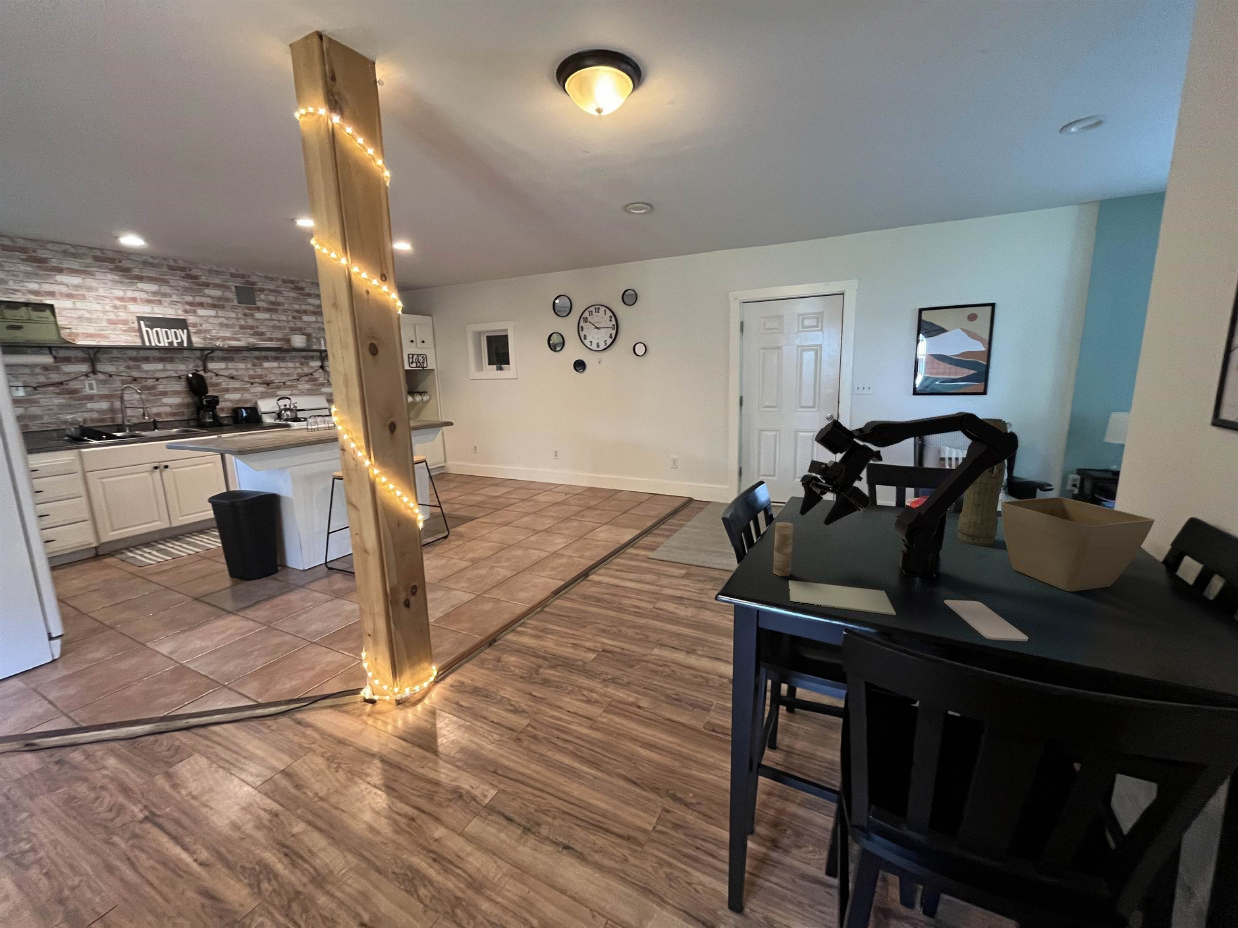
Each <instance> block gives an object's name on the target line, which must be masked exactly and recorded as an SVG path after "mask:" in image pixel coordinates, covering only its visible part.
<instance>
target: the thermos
mask: <svg viewBox="0 0 1238 928" xmlns="http://www.w3.org/2000/svg"><path fill="white" fill-rule="evenodd" d="M981 419H982V420H983V421H985V422H987V423H989V424H991V425H992V426H994V427H996V428H998V429H999V430H1001V431H1004V432H1009V430H1008V426H1007V422H1006V420H1003V418H1002V419H1001V418H993V417H992V418H987V417H986V418H983V417H982V418H981ZM1006 466H1007V464H1006V460H1005V461H1003V462H1002V463H1000V464H998V465H996V466H994V467H991V468H989V469H987V470H986V471H985V472H984V473H983V474H982V475H981V476H980V477H979V478H978V479H977V480H976V481H975V482H974V483H973V484H972V485H971V486H970V487H969V488H968V489H967V490H966V491H965V492H964V493H963V502H962V511H961V512H960V514H959V516H958V524H957V536H956V539H957V540H958V541H960V542H961V543H965V544H968V545H972V546H978V547H991V546H992V547H993V546H994V545H995V540H996V539H995V538H996V537H997V531H998V525H999V520H998V515H997V514H998V506H999V500H1000V493H1001V487H1002V486H1003V484H1004V482H1005V481H1004V480H1005V475H1006V474H1005V473H1006Z"/></svg>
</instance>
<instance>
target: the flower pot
mask: <svg viewBox="0 0 1238 928" xmlns="http://www.w3.org/2000/svg"><path fill="white" fill-rule="evenodd" d="M1000 509H1001V511H1000V512H1001V513H1000V514H1001V523H1002V524H1001V525H1002V529H1003V536H1004V540H1005V546H1006V549H1007V553H1008V557H1009V561H1010V564H1011V566H1012V568H1013V570H1014V571H1016V572H1018V573H1021V574H1024V575H1026V576H1029V577H1031V578H1033V579H1035V580H1038V581H1041V582H1043V583H1045V584H1048V585H1051V586H1053V587H1055V588H1058V589H1061V590H1062V591H1067V592H1078V591H1087V590H1095V589H1101V588H1108V587H1111V586H1112V585H1113V584H1114V583H1115V582H1116V581H1117V580H1118V579H1119V577H1121V575H1122V573H1123V572H1124V571H1125V570H1126V569H1127V567H1128V566H1129V565H1130V563H1131V562H1132V560H1133V559H1134V558H1135V556H1137V553H1138V552H1139V550H1140V549H1141V547H1142V545H1143V544H1144V542H1145V541H1146V539H1147V537H1148V534H1149V533H1150V531H1151V529H1152V527H1153V525H1154V522H1156V521H1155V519H1154V518H1152V517H1147V516H1144V515H1143V516H1142V515H1138V514H1134V513H1130V512H1127V511H1122V510H1118V509H1114V508H1110V507H1105V506H1101V505H1096V504H1094V503H1093V504H1091V503H1088V502H1083V501H1079V500H1075V499H1072V498H1071V499H1070V498H1065V497H1060V496H1052V497H1041V498H1029V499H1018V500H1017V499H1016V500H1015V499H1014V500H1006V501H1001V502H1000Z"/></svg>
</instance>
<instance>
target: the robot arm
mask: <svg viewBox="0 0 1238 928" xmlns="http://www.w3.org/2000/svg"><path fill="white" fill-rule="evenodd" d="M954 432H955V433H956V432H960V433H962V435H964V437H966V438H967V439H968V440H969V441H971V442H970V443H969V444H968V447H967V450H966V454H965V457H964V458H963V460H961V462H960V463H959V464H958V465H957V466H956V467H955V468H954V469H953V470H952V471H951V472H950V473H949V475H948V476H946V478H945V479H944V480H943V481H942V482H941V483H940V484H939V485H938V486H937V488H935V490H934V491H932V493H931V494H930V495H929V496H928V497H927V498H926V499H925V501H923V503H921V504H920V505H918V506H915V507H912V506H911V505H906V506H905V507H904V509H903V511H902V512H900V514H898V515H896V516H895V518H896V520H895V522H894V531H895V533H896V534H897V535H898V536H899V537H900V539H901V542H903V543H904V544H903V546H902V549H900V551H899V558H898V566H899V568H900V569H901V570H902V572H903V574H904V575H906V576H911V577H913V576H914V577H923V578H932V579H935V578H937V574H935V563H936V555H940V552H941V550H942V549H943V546H942V545H941V543H939V542H938V541H937V540H936V539H935V538H934V537H933V536H934V535H935V534H936V532H937V530H938V527H939V524H940V521H941V518H942V517H943V515H945V513H946V512H947V511H948V510H949V509H950V508H951V507H952V506H953V505H954V504H955V503H956V502H957V501H958V500H959V499H960V498H961V497H962V496H963V495H964V493H965V491H966V490H967V489H968V488H969V487H970V486H971V485H972V484H973V483H974V482H975V481H976V480H977V479H978V478H979V477H980V476H981V475H982V474H983V473H984V472H985V471H986V470H987V469H989V468H991V467H994V466H996V465H998V464H1000V463H1002V462H1003V461H1005V462H1006V461H1007V460H1008V459H1009V458H1010V457H1011V456H1013V455H1014V454H1015V453H1016V452H1017V450H1018V449H1019V442H1018V441H1019V440H1018V439H1017V436H1015V434H1014V433H1011V432H1009V431H1008V432H1004V431H1001V430H999V429H998V428H996V427H994V426H992V425H991V424H989V423H987V422H985V421H983V420H982V418H980V417H979V416H978V415H977V414H975V413H972V412H966V411H958V412H956V413H952V414H949V413H948V414H944V415H937V416H931V417H925V418H917V419H911V420H909V419H908V420H898V421H897V420H870V421H867V422H865V423H864V425H863V426H861V427H858V428H853V429H849V428H848V427H846V426H845V425H843V424H842V422H841V421H839V420H838V419H835V418H833V419H832V420H831V421H830V422H829V423H827V424H825V426H823V427H821V428H820V429H819V431H818V432H817V433H816V435H815V437H814V441H815V442H816V443H817V444H818V445H820V446H821V447H822V448H824V449H825V450H827V451H829V452H830V453H831V454H832V455H834V456H835V455H838V454H840V455H842V456H841V457H840V459H839V460H838V461H835V460H829V461H828V462H823V461H820V460H814V459H811V461H810V462H809V465H808V470H807V474H803V475H802V477H801V478H800V480H799V482H800V484H801V487H803V491H804V493H803V494H804V495H803V499H802V503H801V506H800V508H799V515H801V516H802V517H803V516H804V515H805V516H806V515H807V513H808V512H810V511H811V510H812V509H813V508H814V507H815V506H817V505H818V504H819V503H821V501H823V500H824V497H825V495H827V494H828V493H829V494H833V495H835V502H834V504H833V505H832V507H831V509H830V510H829V512H828V513H827V515H826V516H825V517H824V520H823V524H824V525H825V526H830V525H831V524H833V523H836V522H837V521H840V519H842V518H844V517H847V516H849V515H851V514H853V513H856V512H860V511H861V510H864V511H867V509H868V507H869V506H870V505H871V497H870V496H869V495H868V494H866V493H865V492H864V491H863V490H862V489H860V487H859V486H855V484H856V482H862V480H863V479H864V477H862V476H861V475H862V474H863V472H864V471H865V469H867V466H868V465H869V464H870V462H873V463H878V462H879V463H881V462H883V460H884V459H883V456H882V454H881V450H880V449H881V448H888V447H890V446H894V445H897V444H899V443H902V442H904V441H907V440H909V439H912V438H913V439H914V438H921V437H927V436H934V435H940V434H948V433H949V434H950V433H954ZM856 440H857V441H856ZM860 442H861V443H863V444H860ZM867 444H868V445H867ZM869 445H871V446H874V447H876V448H878V449H877V450H874V449H872V447H871V446H869ZM879 448H880V449H879ZM818 476H819V477H818Z"/></svg>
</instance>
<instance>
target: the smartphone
mask: <svg viewBox="0 0 1238 928" xmlns="http://www.w3.org/2000/svg"><path fill="white" fill-rule="evenodd" d="M943 602H944V604H946V605H947V607H948V608H950V609H951V610H952V611H953V612H954V613H956V614H957V615H958V616H960V618H962V619H963V620H964V621H965V622H966V623H968V624H969V625H970V626H971V627H972V628H974V630H976V631H977V632H978V633H979V634H980V635H982V636H983V637H984V638H986V639H987V640H993V641H1012V642H1014V641H1015V642H1016V641H1017V642H1028V641H1029V637H1028V636H1027V635H1026V634H1024V632H1022V631H1020V630H1019V629H1018V628H1016V626H1013V625H1012V624H1011V623H1009V622H1008V621H1006V619H1004V618H1003V617H1001V616H1000V615H999V614H997V613H996V612H995V611H993V610H992V609H990V608H989V607H988V606H986V605H985V604H984V603H981V602H980V601H977V600H976V601H975V600H960V599H959V600H957V599H955V600H951V599H945V600H944V601H943Z"/></svg>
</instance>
